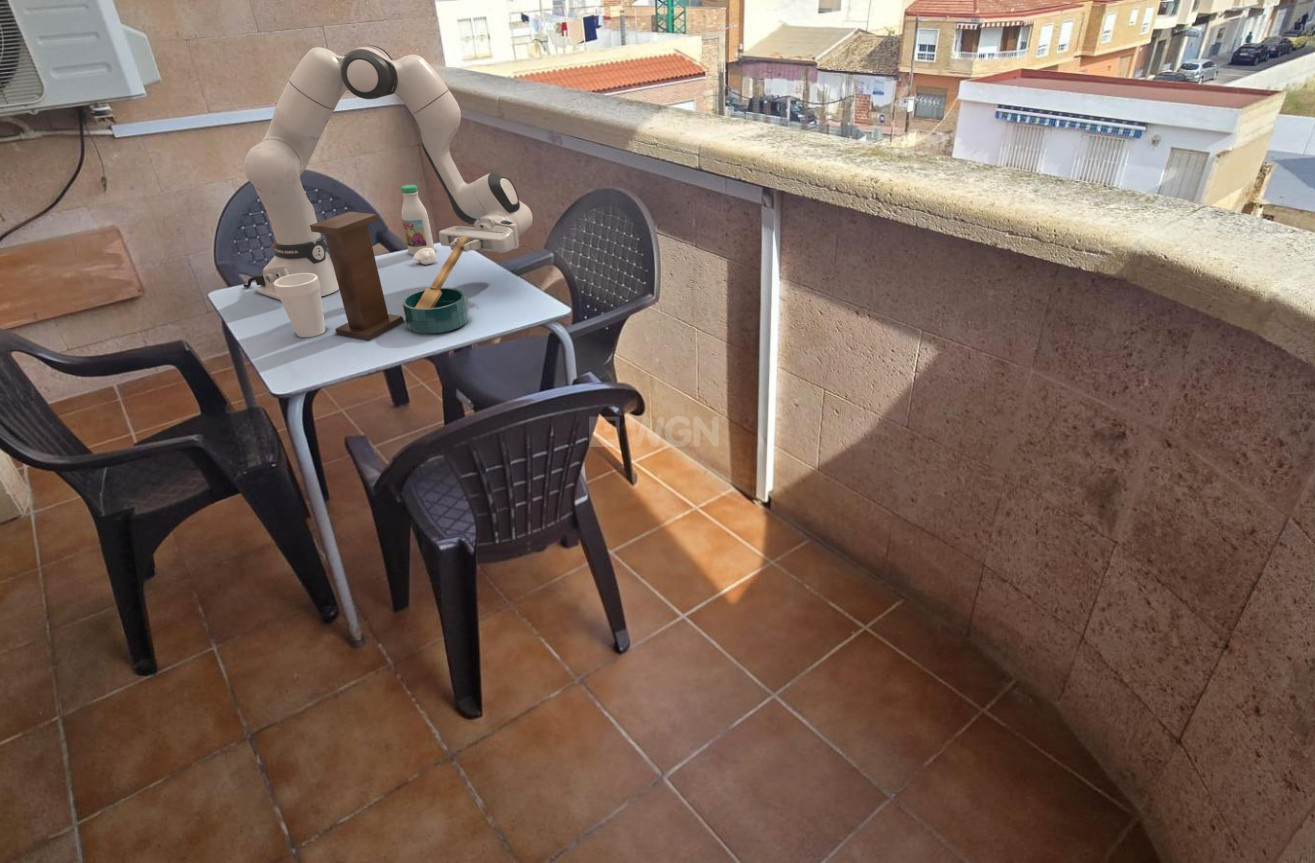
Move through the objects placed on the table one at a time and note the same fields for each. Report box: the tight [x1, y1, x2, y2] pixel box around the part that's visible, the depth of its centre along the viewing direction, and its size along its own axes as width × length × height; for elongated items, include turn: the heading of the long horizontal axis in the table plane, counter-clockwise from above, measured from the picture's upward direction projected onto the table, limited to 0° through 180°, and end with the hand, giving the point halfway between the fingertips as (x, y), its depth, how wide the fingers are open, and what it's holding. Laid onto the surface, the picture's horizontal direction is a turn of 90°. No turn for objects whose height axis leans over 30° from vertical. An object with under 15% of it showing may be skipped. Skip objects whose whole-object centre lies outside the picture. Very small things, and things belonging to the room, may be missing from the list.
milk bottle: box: [400, 184, 435, 256], centre depth 221 cm, size 8×8×20 cm
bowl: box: [401, 287, 470, 335], centre depth 175 cm, size 14×14×6 cm
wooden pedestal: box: [310, 211, 405, 341], centre depth 169 cm, size 10×12×26 cm
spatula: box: [415, 236, 469, 309], centre depth 178 cm, size 24×4×1 cm
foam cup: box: [273, 273, 326, 338], centre depth 171 cm, size 10×9×13 cm
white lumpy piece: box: [412, 248, 437, 266], centre depth 217 cm, size 7×5×4 cm
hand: (458, 247), depth 181 cm, fingers closed on spatula
